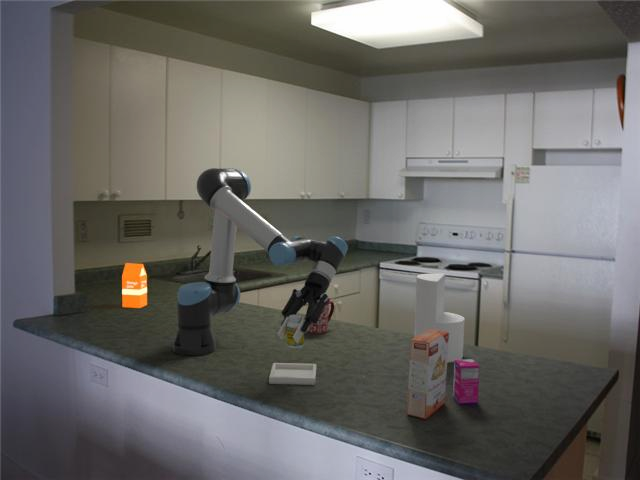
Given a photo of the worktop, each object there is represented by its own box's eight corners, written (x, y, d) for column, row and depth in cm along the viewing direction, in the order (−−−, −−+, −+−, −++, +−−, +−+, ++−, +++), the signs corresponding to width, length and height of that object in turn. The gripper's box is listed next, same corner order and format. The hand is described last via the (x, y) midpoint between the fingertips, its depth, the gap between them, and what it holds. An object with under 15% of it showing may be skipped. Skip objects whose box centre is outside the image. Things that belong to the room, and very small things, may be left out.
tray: (268, 383, 183) (269, 377, 183) (273, 368, 197) (273, 362, 197) (315, 384, 183) (315, 378, 183) (316, 369, 197) (316, 363, 197)
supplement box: (451, 397, 175) (453, 359, 174) (471, 397, 176) (473, 358, 174) (458, 405, 169) (460, 365, 168) (478, 404, 170) (480, 365, 169)
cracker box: (427, 420, 158) (430, 342, 156) (406, 415, 162) (408, 338, 159) (446, 404, 170) (450, 331, 168) (426, 399, 173) (429, 327, 171)
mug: (316, 335, 238) (317, 302, 237) (302, 330, 245) (302, 298, 244) (340, 331, 246) (341, 298, 245) (326, 326, 253) (327, 294, 252)
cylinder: (408, 358, 211) (412, 279, 208) (418, 345, 227) (421, 272, 224) (459, 365, 205) (463, 283, 202) (465, 351, 221) (469, 275, 218)
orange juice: (129, 303, 288) (129, 261, 286) (147, 304, 287) (146, 262, 285) (122, 307, 281) (121, 264, 278) (140, 308, 279) (139, 265, 277)
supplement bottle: (306, 344, 190) (306, 314, 189) (299, 349, 186) (300, 318, 184) (290, 342, 192) (291, 313, 191) (283, 347, 187) (283, 316, 186)
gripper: (347, 288, 194) (316, 350, 183) (302, 281, 205) (270, 339, 193) (338, 274, 189) (306, 336, 178) (292, 268, 200) (259, 326, 189)
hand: (287, 338), depth 186 cm, fingers closed on supplement bottle, 5 cm apart
